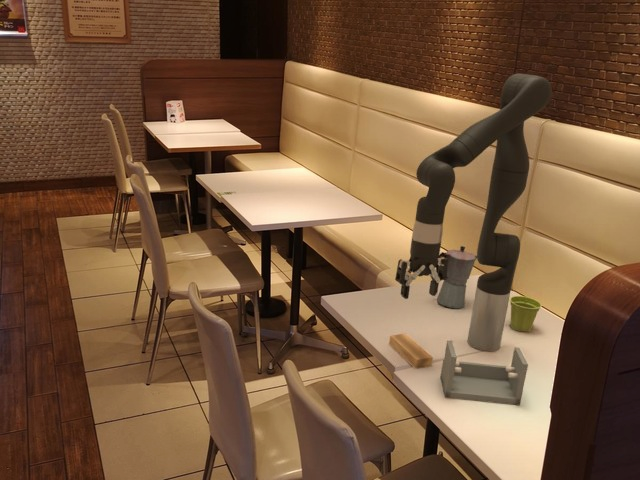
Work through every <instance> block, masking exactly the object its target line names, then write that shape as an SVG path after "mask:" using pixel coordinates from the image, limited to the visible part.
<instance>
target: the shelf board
mask: <svg viewBox="0 0 640 480" xmlns="http://www.w3.org/2000/svg"><path fill="white" fill-rule="evenodd" d="M388 345H390V346H391V348H393V349H394V350H395V351H396V352H397V353H398V354H399V355H400V356H401V357H402V358H404V359H405V360H406V361H407V362H408V363H409V364H410V365H411V366H412V367H413V368H414V369H420V368H422V369H423V368H428V367H432V366H433V359H434V357H433V356H432V355H431V354H430V353H429V352H427V350H425V348H423V347H422V346H421V345H420V344H419V343H417V342H416V341H415V340H414V339H413V338H411V336H410V335H408V334H407V333H399V334H391V335H390V336H389V342H388Z"/></svg>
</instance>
